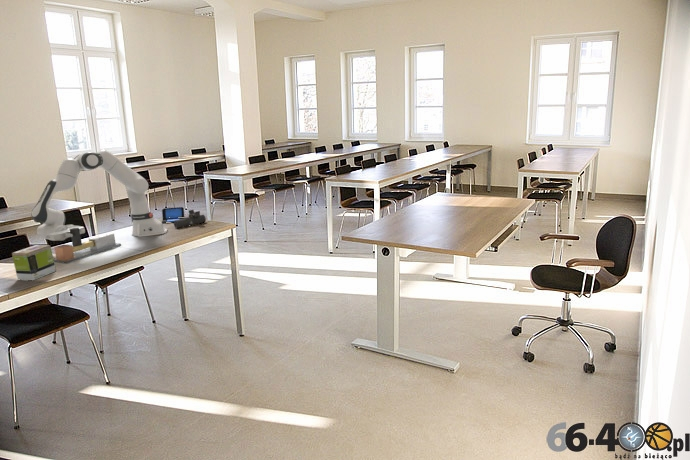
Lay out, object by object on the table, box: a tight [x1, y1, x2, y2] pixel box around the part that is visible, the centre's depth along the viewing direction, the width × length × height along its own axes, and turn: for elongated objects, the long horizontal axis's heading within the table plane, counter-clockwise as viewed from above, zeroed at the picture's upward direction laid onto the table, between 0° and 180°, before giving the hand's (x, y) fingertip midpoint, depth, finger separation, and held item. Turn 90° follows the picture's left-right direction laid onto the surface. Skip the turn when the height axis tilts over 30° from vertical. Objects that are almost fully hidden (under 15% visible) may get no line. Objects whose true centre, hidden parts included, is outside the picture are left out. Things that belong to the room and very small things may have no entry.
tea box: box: [11, 244, 57, 282], centre depth 268 cm, size 15×10×15 cm, turn 163°
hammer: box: [70, 228, 95, 253], centre depth 306 cm, size 25×4×13 cm, turn 155°
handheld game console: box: [161, 206, 185, 223], centre depth 386 cm, size 16×13×9 cm
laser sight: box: [173, 209, 207, 229], centre depth 369 cm, size 10×22×10 cm, turn 133°
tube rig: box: [53, 232, 122, 264], centre depth 308 cm, size 38×12×8 cm, turn 155°
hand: (76, 234), depth 300 cm, fingers closed on hammer, 3 cm apart
